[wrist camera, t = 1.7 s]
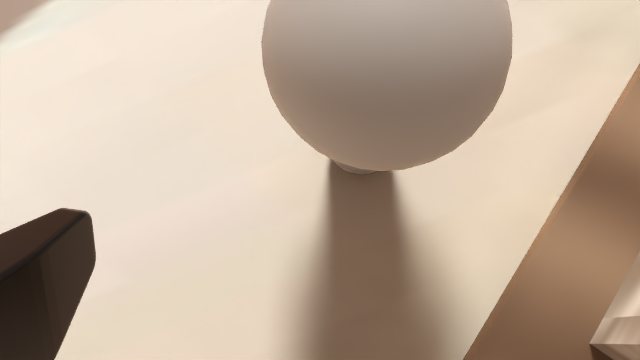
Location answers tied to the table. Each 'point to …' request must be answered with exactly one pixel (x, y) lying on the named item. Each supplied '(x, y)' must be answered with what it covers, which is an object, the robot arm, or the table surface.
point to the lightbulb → (386, 75)
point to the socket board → (581, 261)
